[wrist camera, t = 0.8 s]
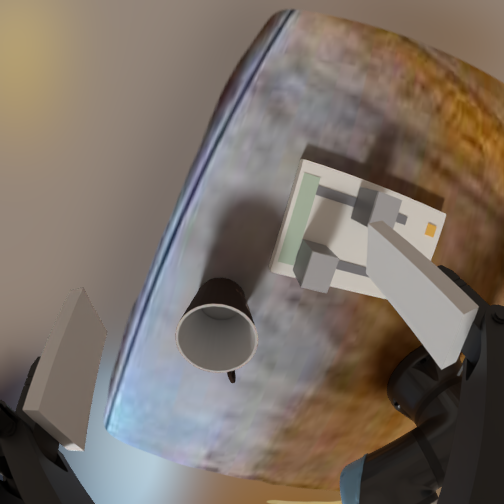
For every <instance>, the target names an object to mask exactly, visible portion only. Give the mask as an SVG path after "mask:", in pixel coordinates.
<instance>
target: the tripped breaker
mask: <svg viewBox="0 0 504 504" xmlns="http://www.w3.org/2000/svg"><path fill="white" fill-rule="evenodd" d="M401 203H402V200H400V199H398V198H395V197H393V196H390V195H388V194H385V193H383V192H380V191H376V190H372V189H368V188H363V187H360V190H359V193H358V196H357V200H356V203H355V206H354V209H353V213H352V216H351V219H353V220H355V221H357V222H359V223H360V224H362V225H364V226H366V227H368V223H372V222H377V221H383V222H385V223H386V224H387V225H388V226H390V227H391V228H392V229H393V228H394V225H395V222H396V219H397V216H398V212H399V209H400V206H401Z"/></svg>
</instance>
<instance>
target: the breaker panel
mask: <svg viewBox="0 0 504 504" xmlns="http://www.w3.org/2000/svg"><path fill="white" fill-rule="evenodd" d="M360 187H363V188H368V189H372V190H376V191H380V192H383V193H385V194H388V195H390V196H393V197H395V198H398V199H400V200H402V203H401V206H400V209H399V212H398V216H397V219H396V222H395V225H394V228H393V230H395V231H396V232H397V233H398V234H400V235H401V236H402V237H403V238H404V239H406V240H407V241H408V242H409V243H410V244H411V245H413V246H414V247H415V248H416V249H417V250H419V251H420V252H421V253H422V254H423V255H424V256H425V257H427V258H428V259H429V260H430V261H431V259H432V256H433V253H434V251H435V248H436V245H437V242H438V239H439V236H440V233H441V230H442V227H443V224H444V221H445V217H446V214H445V213H443V212H440V211H438V210H436V209H434V208H432V207H429V206H427V205H425V204H423V203H420V202H418V201H416V200H413V199H411V198H409V197H406V196H404V195H401V194H399V193H397V192H394V191H392V190H389V189H387V188H384V187H382V186H379V185H376V184H374V183H371V182H369V181H366V180H363V179H361V178H358V177H355V176H352V175H350V174H347V173H344V172H341V171H338V170H335V169H333V168H330V167H327V166H324V165H321V164H318V163H315V162H312V161H308V160H305V159H300V162H299V166H298V169H297V173H296V176H295V180H294V183H293V186H292V190H291V193H290V197H289V200H288V203H287V207H286V210H285V214H284V217H283V220H282V224H281V227H280V230H279V234H278V237H277V240H276V244H275V247H274V250H273V254H272V257H271V260H270V263H269V270H270V272H273V273H277V274H281V275H285V276H290V277H294V278H296V276H295V274H294V272H293V267H294V264H295V261H296V258H297V255H298V252H299V249H300V246H301V243H302V239H305V240H308V241H312V242H316V243H319V244H323V245H326V246H327V247H328V248H329V249H330V250H331V251H332V252H333V253H334V254H335V255H336V256H337V257H338V258H339V261H338V264H337V267H336V270H335V273H334V275H333V278H332V281H331V284H330V286H331V287H336V288H340V289H344V290H348V291H353V292H357V293H361V294H366V295H370V296H374V297H379V298H383V299H387V298H386V297H385V296H384V295H383V293H382V292H381V291H380V290H379V288H378V287H377V286H376V285H375V284H374V282H373V281H372V280H371V279H370V278H369V276H368V275H367V274H366V264H367V244H368V227H366V226H364V225H362V224H360V223H359V222H357V221H355V220H353V219H351V216H352V213H353V209H354V206H355V203H356V200H357V196H358V193H359V190H360ZM387 300H388V299H387Z"/></svg>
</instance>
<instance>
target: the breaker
mask: <svg viewBox="0 0 504 504" xmlns="http://www.w3.org/2000/svg"><path fill="white" fill-rule="evenodd" d="M338 261H339V258H338V257H337V256H336V255H335V254H334V253H333V252H332V251H331V250H330V249H329V248H328V247H327V246H326V245H323V244H319V243H316V242H312V241H308V240H305V239H302V243H301V246H300V249H299V252H298V255H297V258H296V261H295V264H294V267H293V272H294V274H295V276H296V278H297V280H298V282H299V284H300V286H301V287H302V288H306V289H310V290H315V291H319V292H323V293H327V292H328V289H329V286H330V284H331V281H332V278H333V275H334V273H335V270H336V267H337V264H338Z"/></svg>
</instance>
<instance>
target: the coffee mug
mask: <svg viewBox="0 0 504 504" xmlns="http://www.w3.org/2000/svg"><path fill="white" fill-rule="evenodd" d="M175 339H176V344H177V347H178V349H179V351H180V353H181V355H182V356H183V357H184V358H185V359H186V360H187V361H188V362H189V363H190V364H192V365H193V366H195V367H197V368H199V369H201V370H204V371H208V372H215V373H223V372H227V374H228V377H229V380H230V382H231V383H235V370H236V369H238V368H240V367H242V366H244V365H245V364H246V363H247V362H249V361H250V360H251V358H252V357H253V355H254V354H255V352H256V349H257V346H258V334H257V331H256V328H255V325H254V322H253V319H252V316H251V313H250V310H249V307H248V305H247V302H246V299H245V296H244V293H243V291H242V289H241V287H240V286H239V285H238V284H236V283H235V282H234V281H232V280H230V279H226V278H214V279H211V280H209V281H207V282H206V283H204V284H203V285H202V286H201V288H200V289H199V291H198V292H197V294H196V295H195V297H194V299H193V300H192V302H191V303H190V305H189V307H188V308H187V310H186V311H185V313H184V315H183V316H182V318H181V320H180V321H179V323H178V325H177V328H176V333H175Z"/></svg>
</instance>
